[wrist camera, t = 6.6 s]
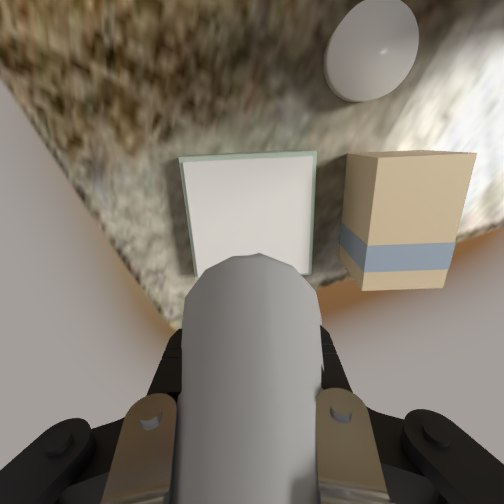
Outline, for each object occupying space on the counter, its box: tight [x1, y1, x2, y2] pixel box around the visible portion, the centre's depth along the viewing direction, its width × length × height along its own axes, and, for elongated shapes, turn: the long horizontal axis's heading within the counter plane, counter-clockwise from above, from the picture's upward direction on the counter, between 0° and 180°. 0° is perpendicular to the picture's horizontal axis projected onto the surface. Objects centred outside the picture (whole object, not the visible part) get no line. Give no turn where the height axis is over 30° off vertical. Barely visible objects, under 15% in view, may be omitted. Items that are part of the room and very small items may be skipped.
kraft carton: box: [339, 150, 477, 291], centre depth 25 cm, size 7×11×7 cm, turn 2°
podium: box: [179, 150, 317, 279], centre depth 27 cm, size 12×12×3 cm
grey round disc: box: [323, 0, 419, 102], centre depth 22 cm, size 6×6×3 cm
